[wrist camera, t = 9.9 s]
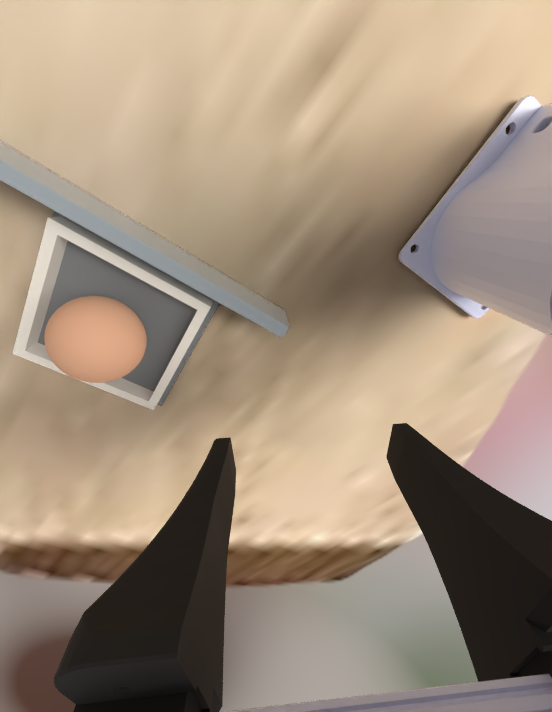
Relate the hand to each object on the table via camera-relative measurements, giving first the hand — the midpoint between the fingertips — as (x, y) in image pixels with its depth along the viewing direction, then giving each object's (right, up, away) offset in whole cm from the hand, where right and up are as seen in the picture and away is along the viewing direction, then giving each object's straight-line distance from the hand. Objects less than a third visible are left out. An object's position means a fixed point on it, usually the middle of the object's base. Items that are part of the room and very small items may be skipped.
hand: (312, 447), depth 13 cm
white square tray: (-12, +6, +6) cm, 15 cm away
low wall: (-9, +11, +4) cm, 15 cm away
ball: (-12, +5, +4) cm, 13 cm away
